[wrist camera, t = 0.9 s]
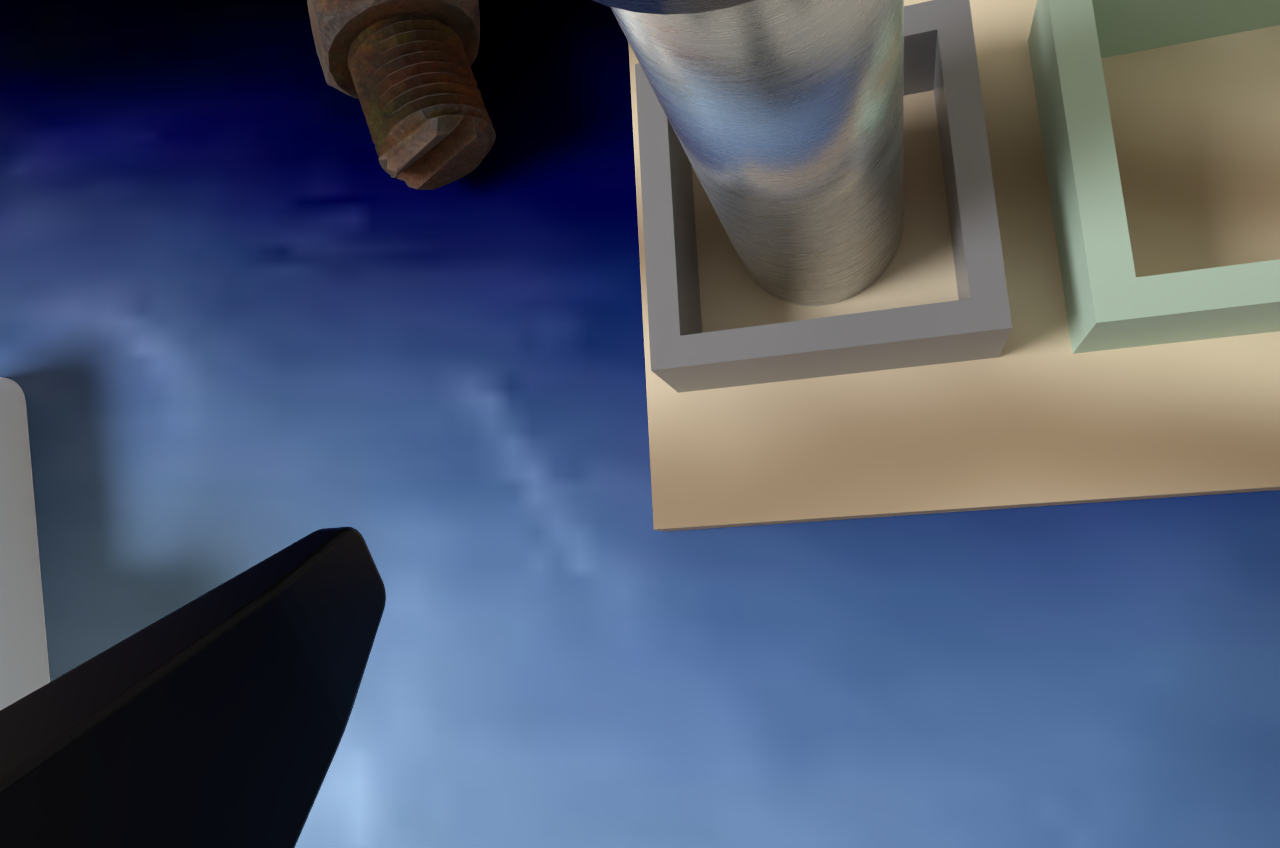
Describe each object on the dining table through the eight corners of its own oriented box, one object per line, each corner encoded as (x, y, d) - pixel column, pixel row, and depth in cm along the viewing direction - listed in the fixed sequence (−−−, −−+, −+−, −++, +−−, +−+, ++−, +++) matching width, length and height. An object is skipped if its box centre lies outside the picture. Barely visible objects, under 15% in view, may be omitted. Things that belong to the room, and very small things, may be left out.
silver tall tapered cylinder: (941, 315, 20) (1014, -170, 7) (718, 343, 22) (433, -20, 9) (917, 107, 21) (941, -661, 8) (705, 147, 23) (431, -453, 9)
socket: (1493, 307, 17) (1586, 265, 15) (1073, 353, 19) (1096, 322, 17) (1413, -36, 19) (1486, -124, 16) (1027, 40, 21) (1044, -28, 18)
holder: (999, 357, 20) (1012, 328, 18) (678, 392, 22) (650, 370, 19) (961, 58, 21) (968, -8, 19) (662, 116, 23) (634, 64, 21)
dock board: (1540, 471, 18) (1577, 466, 17) (664, 531, 22) (654, 529, 21) (1396, -139, 20) (1420, -174, 19) (637, 31, 25) (627, 9, 24)
